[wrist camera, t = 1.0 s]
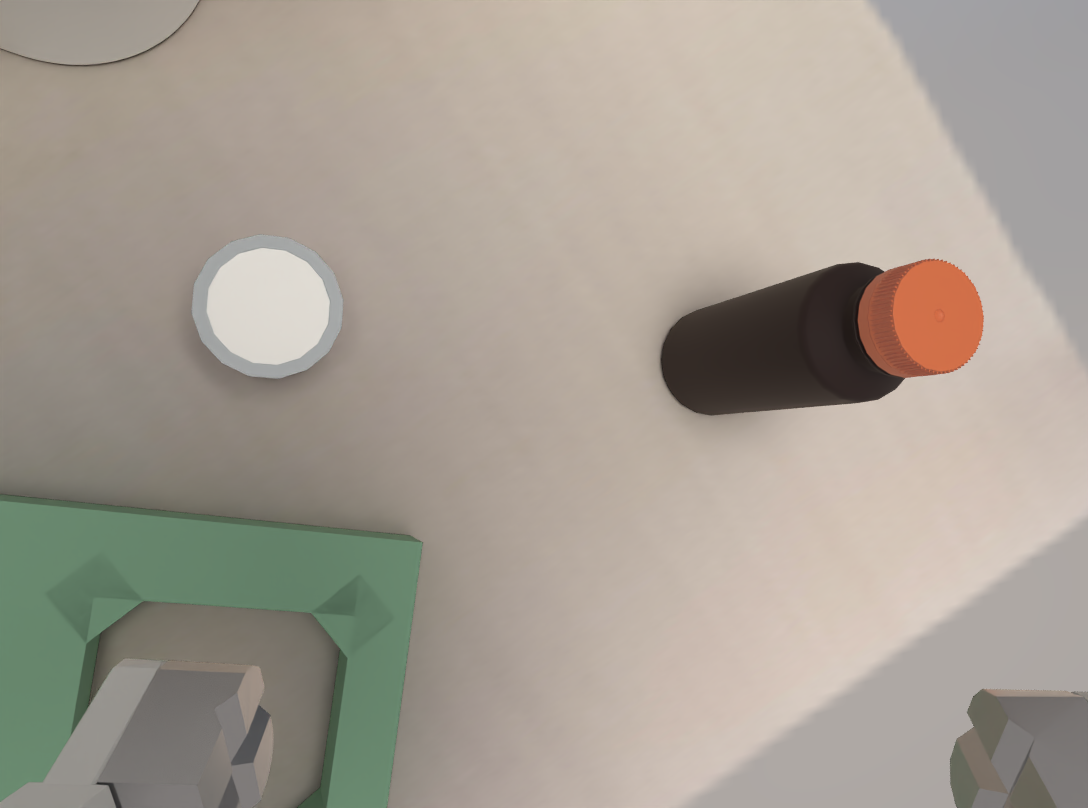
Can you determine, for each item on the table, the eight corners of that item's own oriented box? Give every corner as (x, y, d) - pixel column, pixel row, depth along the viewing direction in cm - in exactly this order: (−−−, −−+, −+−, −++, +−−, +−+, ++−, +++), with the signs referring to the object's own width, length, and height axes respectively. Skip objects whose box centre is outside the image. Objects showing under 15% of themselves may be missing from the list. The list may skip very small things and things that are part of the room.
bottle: (765, 398, 57) (1019, 370, 38) (676, 428, 54) (898, 415, 35) (736, 298, 56) (978, 220, 37) (646, 325, 54) (853, 256, 35)
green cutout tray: (-384, 924, 37) (-457, 978, 34) (-285, 465, 39) (-344, 466, 35) (359, 903, 47) (368, 943, 43) (410, 535, 49) (422, 542, 45)
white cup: (209, 396, 46) (200, 386, 39) (193, 269, 46) (181, 238, 39) (340, 381, 48) (353, 370, 42) (324, 260, 48) (334, 229, 42)
